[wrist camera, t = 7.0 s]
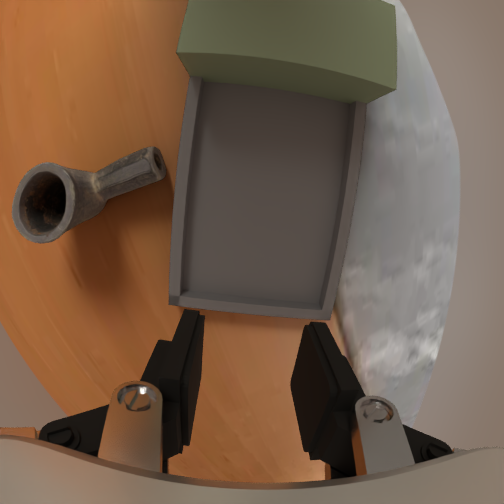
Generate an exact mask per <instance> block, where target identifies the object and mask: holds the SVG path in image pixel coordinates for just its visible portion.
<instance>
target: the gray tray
mask: <svg viewBox="0 0 504 504" xmlns="http://www.w3.org/2000/svg"><path fill="white" fill-rule="evenodd" d="M176 53H177V55H178V56H179V58H180V60H181V62H182V63H183V65H184V67H185V68H186V70H187V72H188V74H189V75H190V79H189V85H188V91H187V97H186V103H185V109H184V116H183V123H182V130H181V138H180V146H179V154H178V163H177V172H176V182H175V193H174V204H173V217H172V232H171V249H170V272H169V305H175V306H183V307H190V308H198V309H206V310H215V311H224V312H233V313H242V314H253V315H263V316H275V317H287V318H301V319H316V320H330V318H331V314H332V310H333V306H334V302H335V298H336V293H337V289H338V285H339V280H340V276H341V271H342V267H343V262H344V257H345V252H346V248H347V242H348V237H349V232H350V227H351V221H352V215H353V209H354V203H355V197H356V191H357V184H358V177H359V170H360V162H361V155H362V146H363V137H364V128H365V117H366V105H367V103H369V102H371V101H373V100H375V99H377V98H379V97H381V96H383V95H386V94H388V93H390V92H392V91H394V90H396V81H397V36H396V14H395V6H394V5H392V4H389V3H387V2H384V1H381V0H189V2H188V5H187V9H186V13H185V17H184V21H183V25H182V29H181V33H180V37H179V42H178V46H177V51H176Z"/></svg>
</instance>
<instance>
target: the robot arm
mask: <svg viewBox="0 0 504 504" xmlns="http://www.w3.org/2000/svg"><path fill="white" fill-rule="evenodd" d="M204 320H205V316H204V315H199V311H195V310H187V309H184V311H183V314H182V317H181V319H180V322H179V324H178V327H177V329H176V332H175V335H174V337H173V340H172V341H165V340H158V342H157V344H156V346H155V348H154V351H153V353H152V355H151V357H150V359H149V362H148V364H147V366H146V368H145V371H144V373H143V375H142V378H141V380H140V381H129V382H125V383H123V384H121V385H119V386H118V387H117V388H115V389H114V391H113V393H112V396H111V400H110V404H108V405H105V406H102V407H99V408H96V409H93V410H90V411H86V412H83V413H80V414H76V415H73V416H69V417H67V418H62V419H59V420H55V421H52V422H50V423H48V424H46V425H45V426H44V427H43V428H42V429H41V431H36V429H35V428H34V427H23V428H0V504H504V448H502V447H483V448H475V449H470V450H464V449H458V448H454V449H453V450H451V448H450V447H449V446H448V445H447V444H446V443H445V442H443V441H441V440H439V439H436V438H434V437H431V436H429V435H426V434H424V433H422V432H419V431H417V430H415V429H412V428H410V427H408V426H406V425H403V424H402V422H401V419H400V417H399V414H398V411H397V409H396V407H395V406H394V405H393V404H392V403H391V402H390V401H388V400H386V399H385V398H382V397H378V396H365V394H364V392H363V390H362V388H361V386H360V384H359V382H358V380H357V378H356V376H355V374H354V372H353V370H352V368H351V366H350V364H349V362H348V360H347V358H346V357H345V356H343V355H342V354H341V352H340V350H339V348H338V346H337V344H336V342H335V340H334V338H333V336H332V334H331V332H330V330H329V328H328V326H327V324H326V323H322V322H310V324H309V325H305V327H304V330H303V334H302V338H301V342H300V346H299V350H298V354H297V358H296V362H295V366H294V370H293V374H292V378H291V392H292V397H293V402H294V406H295V411H296V416H297V421H298V426H299V430H300V435H301V440H302V445H303V450H304V452H309V456H310V460H322V461H323V462H325V480H321V481H309V482H289V483H250V482H230V481H217V480H207V479H198V478H191V477H183V476H177V475H171V474H169V458H170V457H172V456H174V455H176V454H178V453H181V454H182V451H183V445H185V446H189V445H190V440H191V434H192V427H193V421H194V416H195V410H196V404H197V398H198V392H199V387H200V381H201V372H202V352H203V336H204Z"/></svg>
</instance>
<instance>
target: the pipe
mask: <svg viewBox="0 0 504 504" xmlns="http://www.w3.org/2000/svg"><path fill="white" fill-rule="evenodd" d="M165 176H166V167H165V163H164V160H163V157H162V154H161V152H160V150H159V149H158V148H156V147H147V148H144V149H141V150H139V151H136V152H134V153H132V154H130V155H128V156H126V157H123V158H121V159H119V160H117V161H115V162H113V163H112V164H110V165H108V166H106V167H105V168H103V169H101V170H99V171H98V172H96V173H92V172H87V171H82V170H76V169H70V168H66V167H63V166H60V165H58V164H55V163H50V162H46V163H42V164H39V165H37V166H35V167H34V168H32V169H31V170H29V171H28V172H27V173H26V174H25V176H24V177H23V179H22V180H21V182H20V184H19V186H18V188H17V190H16V193H15V197H14V200H13V205H12V218H13V221H14V224H15V226H16V228H17V230H18V231H19V232H20V233H21V235H22V236H24V237H25V238H26V239H27V240H29V241H32V242H35V243H49V242H52V241H54V240H56V239H58V238H59V237H60V236H61V235H62V234H63V233H65V232H66V231H68V230H70V229H71V228H73V227H75V226H76V225H78V224H80V223H82V222H84V221H86V220H89V219H91V218H93V217H94V216H96V215H97V214H99V213H100V212H101V211H102V209H103V208H104V206H105V204H106V202H107V199H110V198H112V197H115V196H118V195H120V194H123V193H126V192H129V191H132V190H134V189H137V188H140V187H143V186H146V185H148V184H151V183H154V182H157V181H159V180H162V179H163V178H164V177H165Z"/></svg>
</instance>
